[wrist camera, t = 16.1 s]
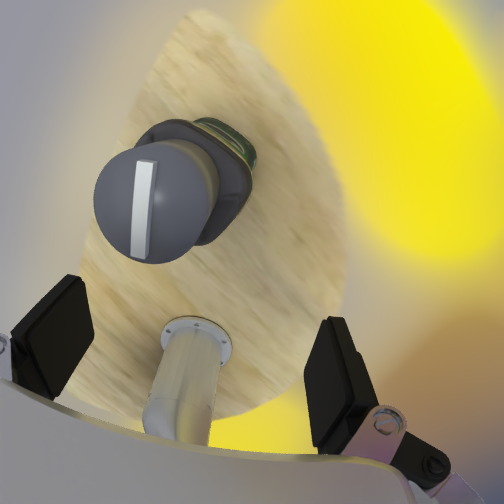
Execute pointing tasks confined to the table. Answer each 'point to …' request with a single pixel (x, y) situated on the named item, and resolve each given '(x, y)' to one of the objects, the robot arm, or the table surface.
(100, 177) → the lid
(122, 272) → the table surface
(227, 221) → the coffee jar
